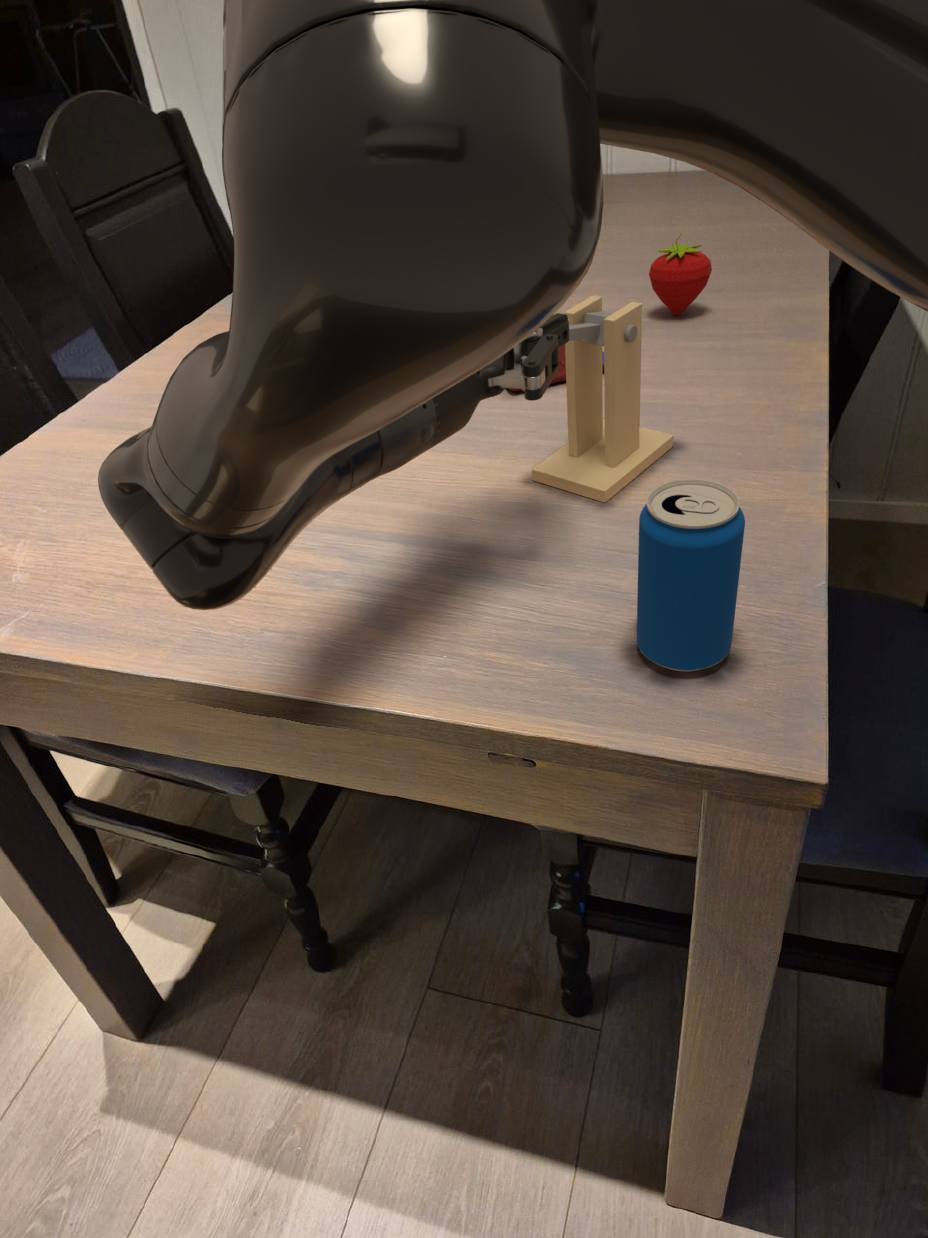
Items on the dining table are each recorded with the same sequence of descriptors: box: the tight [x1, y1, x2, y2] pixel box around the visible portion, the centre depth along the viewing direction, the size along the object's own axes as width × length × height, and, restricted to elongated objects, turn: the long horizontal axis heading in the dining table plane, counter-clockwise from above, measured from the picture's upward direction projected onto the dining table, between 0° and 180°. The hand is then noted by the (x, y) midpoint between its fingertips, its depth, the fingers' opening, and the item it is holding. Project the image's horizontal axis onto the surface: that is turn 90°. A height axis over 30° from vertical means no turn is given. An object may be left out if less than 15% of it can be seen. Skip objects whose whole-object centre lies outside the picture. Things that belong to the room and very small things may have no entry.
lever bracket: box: [531, 295, 675, 504], centre depth 79 cm, size 12×8×15 cm, turn 140°
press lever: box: [522, 310, 614, 356], centre depth 72 cm, size 15×4×4 cm, turn 140°
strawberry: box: [648, 233, 713, 316], centre depth 108 cm, size 6×8×10 cm
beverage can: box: [636, 478, 746, 673], centre depth 59 cm, size 6×6×12 cm
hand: (540, 322), depth 69 cm, fingers closed on press lever, 3 cm apart
